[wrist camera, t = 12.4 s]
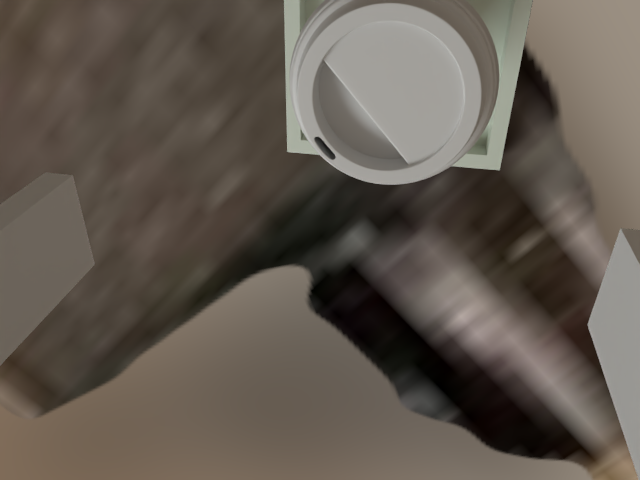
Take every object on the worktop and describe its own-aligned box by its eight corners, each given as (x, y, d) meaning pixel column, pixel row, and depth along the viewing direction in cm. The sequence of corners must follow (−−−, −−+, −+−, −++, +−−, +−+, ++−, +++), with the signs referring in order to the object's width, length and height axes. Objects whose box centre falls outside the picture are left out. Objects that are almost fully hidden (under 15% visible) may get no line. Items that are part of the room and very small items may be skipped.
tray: (291, -126, 34) (281, -127, 32) (549, -124, 32) (557, -125, 30) (295, 139, 43) (287, 151, 41) (496, 156, 41) (499, 170, 39)
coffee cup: (315, -21, 36) (245, 23, 23) (466, -76, 33) (477, -59, 20) (359, 118, 40) (319, 218, 28) (496, 80, 37) (521, 175, 25)
